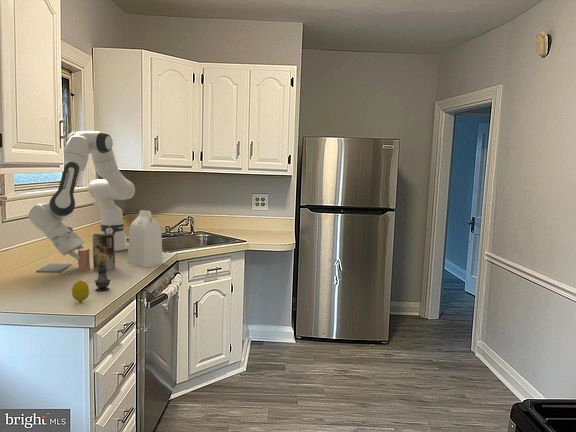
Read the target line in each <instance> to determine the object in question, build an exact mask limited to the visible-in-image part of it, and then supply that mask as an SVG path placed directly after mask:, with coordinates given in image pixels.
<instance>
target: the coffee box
mask: <svg viewBox="0 0 576 432" xmlns="http://www.w3.org/2000/svg"><path fill="white" fill-rule="evenodd" d="M92 258H93V260H92V261H93V263H92V264H93V265H92V266H93V271H95V272H96V271H98V264H99V263H100V262H101V260H103V261H104V262H105V263H106V270H107V271H115V269H116V251H115V238H114V234H99V233H94V234H93V235H92Z"/></svg>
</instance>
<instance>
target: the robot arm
mask: <svg viewBox="0 0 576 432" xmlns="http://www.w3.org/2000/svg"><path fill="white" fill-rule="evenodd" d="M63 152H64V171H63V172H62V171H61V172H62V174H61V178H60V182H59V184H58V189H57V191H56V192H55V193H54V194H53V195H52V196H51V197H50V200H49V202H46V203H38V204H35V205H34V206H33V207H32V208H31V210H30V211H29V212H28V219H29V221H30V222H31V223H32V225H33V226H35V228H37V230H39V231H40V232H42V233H43V234H44V236H45V237H46V238H47V239H48V240H49V241H51V242H52V244H53V246H54V247H55V249H57V251H58V252H59V253H60V254H62V255H63V256H66V255H69V256H71V257H72V258H74V259H75V260H78V259H79V258H80V257H81V256H80V255H79V254H78V253H77V252H75V251H76V250H77V251H78V250H80V249H85V247H84V246H83V245H84V244H85V242H84V240H83V239H82V238H81V236H79V235H78V233H76V232H75V230H74V229H73V227H71V226H67V225H65V224H64V223H63V222H65V221H67V220H68V219H70V218H71V217H72V216H73V214H74V209H75V207H76V200H75V198H74V192H75V188H76V183H77V181H78V178H79V176H81V175H83V173H84V172H85V170H86V168H87V164H88V161H89V155H91V159H92V162H93V163H92V164H93V166H94V170H95V173H96V174H97V175H98V176H99V177H101V178H102V179H101V178H100V179H94V180H91V181H90V183H89V184H88V186H87V190H88V193H89V196H90V197H92V198H93V199H94V200H95V201H96V202H97V204H98V206H99V210H100V218H101V224H100V233H99V232H98V234H114V238H115V252H119V251H124V250H125V251H126V250H127V251H128V246H129V240H128V238H127V235H126V232H125V231H124V230H125V224H124V220H123V219H124V218H123V217H124V216H123V210H122V209H121V207H120V206H119V205H118V206H117V204H115V201H116V200H117V201H119V200H120V201H121V200H122V201H125V200H129V199H132V198H133V197H134V196H135V192H136V187H135V184H134V183H133V182H132V181H130V180H129V179H128V178H126V177H125V176H124V175H123V174H122V173H121V171H120V169H119V167H118V165H117V161H116V158H115V153H114V151H113V138H112V136H111V135H110V133H107V132H104V131H95V130H94V131H93V130H88V131H87V130H86V131H85V130H84V131H72V132H70V133H69V134H68V135H67V137H66V144H65V146H64V149H63ZM114 200H115V201H114Z"/></svg>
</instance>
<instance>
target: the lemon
mask: <svg viewBox="0 0 576 432" xmlns="http://www.w3.org/2000/svg"><path fill="white" fill-rule="evenodd" d="M89 294H90V286H89V285H88V283H87V282H85V281H84V280H81V279H79V280H78V281H76V282H74V284H72V287H71V295H72V298H73V299H74V300H75V301H77V302H79V303H82V302H83V301H85V300H86V299H88V297H89Z"/></svg>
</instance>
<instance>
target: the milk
mask: <svg viewBox="0 0 576 432" xmlns="http://www.w3.org/2000/svg"><path fill="white" fill-rule="evenodd" d="M161 226H162V225H160V223H159V222H158V221H157V220H156V219H155V218H154V217H153V216H152V212H151V211H150V210H143V209H142V210H139V213H138V216H137V217H136V218H134V220H133V221H132V222H131V224H130V225H129V229H128V243H129V246H128V249H127V251H128V252H127V265H132V266H137V267H141V268H147V267H153V266H156V265H157V266H158V265H162V264H164V260H163V259H164V258H163V256H164V255H163V242H162V241H163V240H162V227H161Z"/></svg>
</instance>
